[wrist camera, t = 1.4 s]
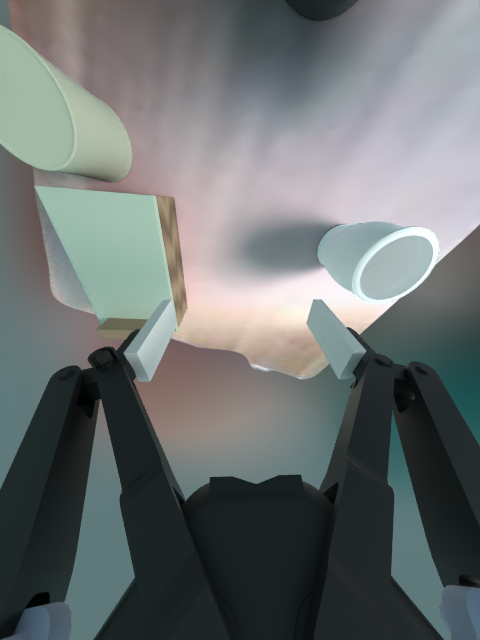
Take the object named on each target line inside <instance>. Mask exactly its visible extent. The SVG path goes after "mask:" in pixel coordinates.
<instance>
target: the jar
mask: <svg viewBox="0 0 480 640" xmlns="http://www.w3.org/2000/svg"><path fill="white" fill-rule="evenodd" d="M439 252H440V243H439V240H438V237H437V236H436V235H435V233H434V232H432V231H431V230H429V229H426V228H422V227H416V226H410V227H403V226H400V225H396V224H393V223H387V222H367V223H358V224H352V225H350V224H342V225H339V226H336V227H334V228H332V229H331V230H330V231H328V232H327V233H326V234H325V235H324V237H323V238H322V240H321V241H320V243H319V246H318V251H317V255H318V259H319V261H320V263H321V264H322V265H324V266H325V268H326V270H327V271H328V272H329V274H330V275H331V277H332V278H333V279H334V280H335V281H336V282H337V283H338V284H339V285H341V286H342V287H344V288H345V289H347V290H349V291H351V292H353V294H354V295H355V296H356V297H357V298H358V299H359V300H360V301H362V302H364V303H367V304H384V303H388V302H392V301H394V300H397V299H399V298H401V297H403V296H405V295H406V294H408V293H410V292H411V291H412V290H414V289H415V288H416V287H418V286H419V285H420V284H421V283H422V282H423V281H424V280H425V279H426V278H427V276H428V275H429V274H430V272H431V271H432V269H433V268H434V266H435V264H436V262H437V260H438V257H439Z"/></svg>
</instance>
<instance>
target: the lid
mask: <svg viewBox="0 0 480 640" xmlns="http://www.w3.org/2000/svg"><path fill="white" fill-rule="evenodd" d="M34 187H35V189H36V191H37V193H38V195H39V197H40V199H41V201H42V203H43V206H44V208H45V210H46V212H47V214H48V216H49V218H50V220H51V222H52V224H53V226H54V228H55V230H56V232H57V234H58V237H59V239H60V241H61V243H62V245H63V247H64V249H65V251H66V253H67V255H68V257H69V259H70V261H71V263H72V266H73V268H74V270H75V272H76V274H77V276H78V278H79V280H80V282H81V284H82V286H83V288H84V290H85V292H86V295H87V297H88V299H89V301H90V303H91V305H92V307H93V309H94V311H95V313H96V315H97V317H98V319H99V321H100V323H101V326H99V327H98V328H97V332H98V333H99V336H100V337H101V338H104V339H106V338H107V339H127V337H128V336H129V334H130V333H132V332H133V331H134V330H136V329H142V327H143V326H144V325H145V323H146V322H147V321H148V319H149V318H150V316H151V315H152V314H153V312H154V311H155V310H156V308H157V307H158V306H159V304H160V303H161V302H162V300H171V301H172V305H173V309H174V313H175V317H176V312H175V306H174V300H173V294H172V288H171V282H170V276H169V271H168V265H167V259H166V253H165V247H164V241H163V235H162V229H161V223H160V217H159V212H158V206H157V200H156V196H151V195H139V194H127V193H116V192H104V191H92V190H80V189H68V188H56V187H45V186H34ZM176 321H177V318H176ZM177 330H178V324H177V326H176V328H175V330H174V332H177Z"/></svg>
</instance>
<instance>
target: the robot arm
mask: <svg viewBox="0 0 480 640" xmlns="http://www.w3.org/2000/svg"><path fill="white" fill-rule="evenodd" d="M357 1H358V0H287V2H288V3H289V4H290V5H291V6H292V8H294V9H295V10H296V11H297V12H298V13H300V14H301V15H303V16H305V17H307V18H310V19H314V20H326V19H330V18H333V17H336V16H338V15H340V14H342V13H343V12H345V11H346V10H348V9H349V8H350V7H352V6H353V5H354V4H355V3H356V2H357ZM307 325H308V327H309V329H310V330H311V332H312V334H313V336H314V337H315V339H316V341H317V342H318V344H319V346H320V348H321V349H322V351H323V353H324V354H325V356H326V358H327V360H328V361H329V363H330V365H331V367H332V368H333V370H334V372H335V373H336V375H337V377H338V378H339V379H350V377H351V375H352V374H354V375H355V377H356V379H355V380H354V382H353V384H352V385H351V387H350V388H351V389H352V390H351V393H350V396H349V400H348V403H347V406H346V410H345V413H344V417H343V420H342V423H341V427H340V430H339V433H338V437H337V440H336V443H335V447H334V450H333V454H332V457H331V460H330V464H329V467H328V470H327V473H326V476H325V478H324V480H323V482H322V484H321V486H320V489H319V490H318V489H316V488H315V487H313V486H312V485H310V484H308V483H306V482H304V481H302V478H301V475H279V476H276V477H274V478H271V479H268V480H266V481H264V482H261V483H259V484H254V483H251V482H247V481H244V480H242V479H239V478H235V477H210V483H208V484H205V485H204V486H202V487H200V488H199V489H198V490H196V491H195V492H194V493H193V494H192V495H191V496H190V497H189V498H188V499H187V500H185V498H184V495H183V493H182V491H181V489H180V487H179V485H178V483H177V481H176V479H175V477H174V474H173V472H172V470H171V467H170V465H169V463H168V460H167V458H166V456H165V453H164V451H163V449H162V446H161V444H160V442H159V439H158V437H157V435H156V433H155V430H154V428H153V426H152V423H151V421H150V419H149V417H148V414H147V412H146V409H145V407H144V405H143V403H142V400H141V398H140V395H139V393H138V391H137V388H136V386H135V384H134V382H133V381H134V379H135V377H137V379H138V381H140V382H142V381H151V379H152V376H153V375H154V372H155V370H156V368H157V366H158V364H159V362H160V359H161V358H162V355H163V353H164V351H165V349H166V347H167V345H168V343H169V341H170V339H171V336H172V334H173V332H174V330H175V328H176V326H177V321H176V317H175V313H174V309H173V305H172V301H171V300H162V302H161V303H160V304H159V306H158V307H157V308H156V310H155V311H154V312H153V314H152V315H151V316H150V318H149V319H148V321H147V322H146V323H145V325H144V326H143V327H142V329H136V330H134V331H133V332H132V333H130V334H129V336H128V337H127V339H126V340H125V341H124V343H122V345H121V346H120V347H119V348H118V350H117V351H115V349H114V348H113V347H103V348H100V349H98V350H96V351H94V352H93V353H91V354H90V356H89V357H88V362H89V363H90V364H91V366H92V367H93V368H89V369H85V370H81V369H80V368H79V367H78V366H74V365H73V366H68V367H65V368H63V369H61V370H59V371H57V372H56V373H55V374H54V375H53V376H52V377H51V378H50V380H49V382H48V385H47V387H46V389H45V391H44V393H43V396H42V398H41V400H40V402H39V405H38V407H37V409H36V411H35V414H34V416H33V418H32V420H31V423H30V425H29V427H28V429H27V431H26V434H25V436H24V438H23V441H22V443H21V445H20V447H19V449H18V451H17V454H16V456H15V458H14V460H13V463H12V465H11V467H10V469H9V472H8V474H7V476H6V478H5V481H4V483H3V485H2V487H1V489H0V640H69V636H70V633H71V611H70V608H69V605H67V604H66V603H65V602H64V601H65V598H66V594H67V590H68V586H69V582H70V579H71V575H72V572H73V567H74V562H75V556H76V552H77V545H78V539H79V532H80V526H81V519H82V513H83V505H84V500H85V493H86V486H87V480H88V473H89V467H90V459H91V453H92V447H93V440H94V434H95V427H96V421H97V414H98V408H99V401H100V399H101V400H102V404H103V408H104V412H105V417H106V421H107V426H108V430H109V434H110V438H111V443H112V447H113V451H114V456H115V460H116V464H117V469H118V473H119V477H120V482H121V487H122V493H121V495H120V507H121V512H122V517H123V522H124V527H125V531H126V536H127V541H128V545H129V550H130V555H131V559H132V564H133V569H134V574H135V578H134V579H133V581H132V582H131V584H130V585H129V587H128V588H127V590H126V591H125V593H124V594H123V596H122V597H121V599H120V601H119V602H118V604H117V605H116V606H115V608H114V609H113V611H112V612H111V614H110V616H109V617H108V618H107V620H106V622H105V623H104V624H103V626H102V628H101V629H100V631H99V632H98V634H97V635H96V637H95V638H94V640H444V639H443V638H442V637H441V636H440V634H439V633H438V632H437V631H436V629H435V628H434V627H433V626H432V625H431V623H430V622H429V621H428V620H427V619H426V617H425V616H424V615H423V614H422V612H421V611H420V610H419V609H418V608H417V606H416V605H415V604H414V603H413V602H412V600H411V599H410V598H409V597H408V596H407V594H406V593H405V592H404V591H403V589H402V588H401V587H400V586H399V585H398V583H397V582H396V581H395V580H394V579H393V577H392V576H391V559H392V537H393V515H394V493H393V489H392V488H391V487H390V486H389V485H388V482H387V473H388V459H389V446H390V433H391V419H392V410H393V414H394V418H395V421H396V425H397V429H398V433H399V437H400V440H401V444H402V448H403V452H404V456H405V459H406V463H407V467H408V471H409V474H410V478H411V482H412V486H413V490H414V493H415V497H416V501H417V504H418V509H419V512H420V516H421V520H422V524H423V527H424V531H425V535H426V538H427V542H428V545H429V548H430V551H431V555H432V558H433V561H434V563H435V566H436V568H437V571H438V574H439V576H440V579H441V582H442V584H443V586H444V589H443V592H442V603H441V604H440V607H439V608H440V613H441V617H442V619H443V621H444V624H445V626H446V627H447V628H448V630H449V632H450V633H451V640H480V446H479V444H478V443H477V441H476V439H475V437H474V436H473V434H472V432H471V431H470V429H469V427H468V426H467V424H466V422H465V420H464V419H463V417H462V415H461V413H460V412H459V410H458V408H457V407H456V405H455V403H454V401H453V400H452V398H451V396H450V395H449V393H448V391H447V389H446V388H445V386H444V384H443V383H442V381H441V379H440V378H439V376H438V374H437V373H436V372H435V370H433V369H432V368H431V367H429V366H428V365H426V364H423V363H420V362H415V361H414V362H410V363H409V364H408V365H407V366H403V365H398V364H394V363H393V361H392V360H391V359H389V358H388V357H386V356H384V355H381V354H376V353H375V352H374V351H373V350H372V349H371V348H370V346H369V345H368V344H367V343H366V342H365V341H363V339H362V338H361V337H360V335H359V334H358V333H357V332H356V331H354V330H353V329H351V328H350V327H345V326H344V325H343V324H342V322H341V321H340V320H339V319H338V318H337V317H336V316H335V314H334V313H333V312H332V311H331V310H330V309H329V307H328V306H327V305H326V304H325V303H324V302H323V301H322V300H313V303H312V306H311V310H310V313H309V316H308V320H307Z"/></svg>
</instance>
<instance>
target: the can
mask: <svg viewBox="0 0 480 640" xmlns="http://www.w3.org/2000/svg"><path fill="white" fill-rule="evenodd" d="M0 144H1V145H2V146H3V147H4V148H5V149H7V150H8V151H9V152H10V153H12V154H13V155H14V156H16V157H17V158H19V159H20V160H22V161H23V162H25V163H27V164H29V165H31V166H33V167H36V168H38V169H42V170H46V171H58V172H64V173H70V174H76V175H82V176H87V177H93V178H98V179H101V180H103V181H107V182H117V181H120V180H122V179H123V178H125V177H126V176H127V174H128V173H129V171H130V169H131V165H132V147H131V142H130V139H129V136H128V133H127V131H126V129H125V127H124V125H123V123H122V122H121V120H120V119H119V117H118V116H117V115H116V113H115V112H114V111H113V110H112V109H111V108H110V107H109V106H108V105H107V104H106V103H105V102H103V101H102V100H101V99H99V98H97V97H95V96H93V95H92V94H90V93H89V92H88V91H87V90H85V89H84V88H83V87H81V86H80V85H79V84H77V83H76V82H75V81H73V80H72V79H71V78H70V77H68V76H67V75H66V74H64V73H63V72H62V71H60V70H59V69H58V68H57V67H55V66H54V65H53V64H51V63H50V62H49V61H48V60H46V59H45V58H44V57H42V56H41V55H40V54H39V53H37V52H36V51H35V50H34V49H33V48H31V47H30V46H29V45H28V44H27V43H26V42H25V41H24V40H23V39H21V38H20V37H19V36H18V35H16V34H15V33H13V32H12V31H10V30H8V29H7V28H5V27H3V26H1V25H0Z"/></svg>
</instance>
